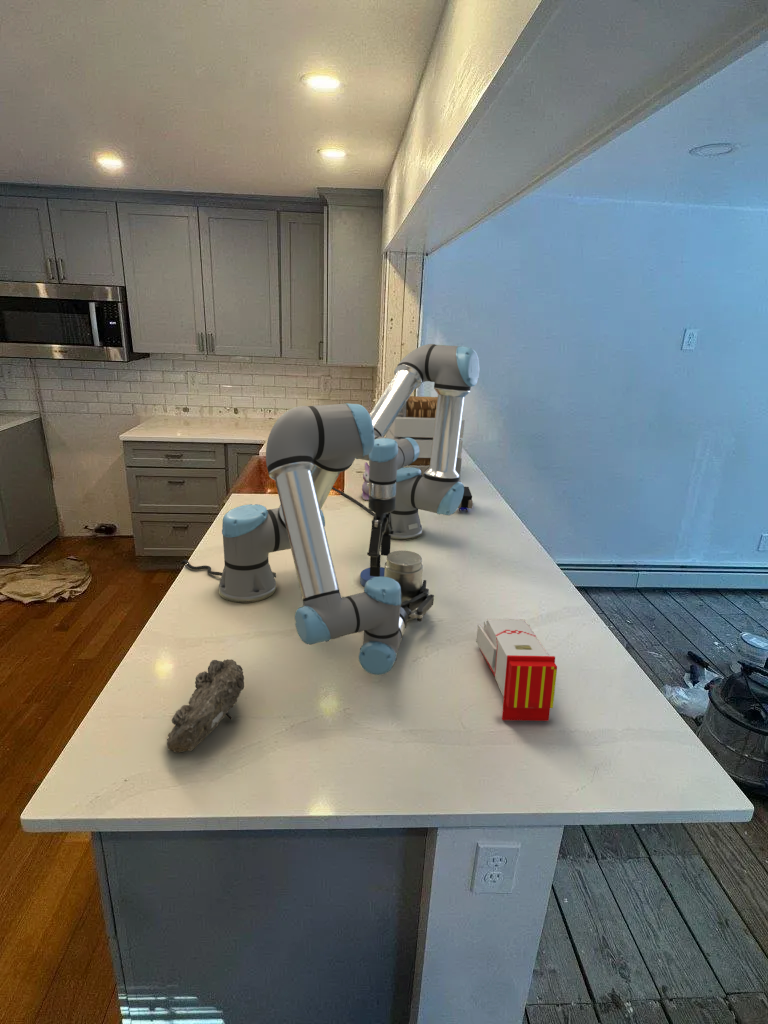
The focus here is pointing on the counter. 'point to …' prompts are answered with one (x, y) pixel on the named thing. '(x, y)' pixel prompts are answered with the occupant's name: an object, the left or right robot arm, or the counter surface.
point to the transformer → (420, 428)
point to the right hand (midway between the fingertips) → (380, 565)
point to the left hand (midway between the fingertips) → (405, 582)
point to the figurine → (366, 480)
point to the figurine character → (466, 500)
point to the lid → (366, 575)
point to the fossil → (206, 705)
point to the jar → (405, 573)
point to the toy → (519, 668)
